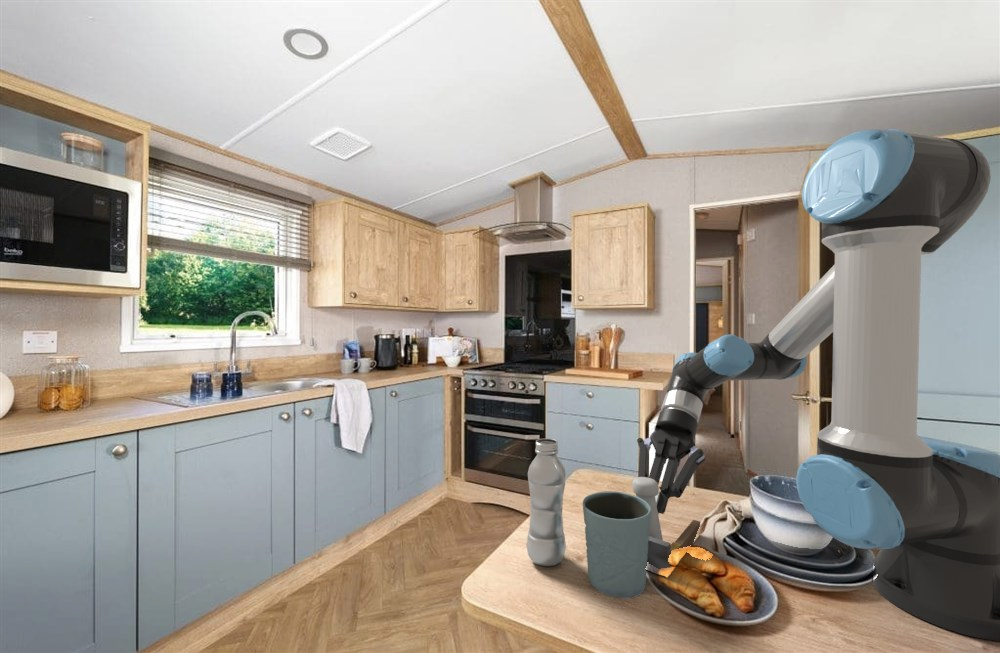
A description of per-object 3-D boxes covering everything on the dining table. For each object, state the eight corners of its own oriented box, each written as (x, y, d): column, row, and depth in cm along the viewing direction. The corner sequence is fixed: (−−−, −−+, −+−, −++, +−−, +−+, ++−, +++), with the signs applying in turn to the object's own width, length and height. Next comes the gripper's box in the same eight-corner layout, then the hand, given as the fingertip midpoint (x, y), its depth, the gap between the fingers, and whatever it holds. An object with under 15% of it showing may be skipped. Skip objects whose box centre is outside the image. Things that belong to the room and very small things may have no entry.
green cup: (650, 570, 68) (651, 495, 68) (650, 610, 58) (651, 524, 58) (587, 557, 71) (587, 487, 71) (577, 594, 62) (577, 512, 61)
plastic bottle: (518, 560, 70) (518, 441, 70) (545, 545, 75) (545, 434, 75) (547, 577, 66) (547, 449, 65) (574, 560, 70) (574, 441, 70)
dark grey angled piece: (700, 534, 79) (700, 508, 79) (667, 578, 65) (667, 546, 65) (640, 516, 86) (640, 492, 86) (600, 552, 73) (600, 523, 73)
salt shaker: (656, 546, 75) (657, 473, 75) (668, 564, 69) (669, 486, 69) (623, 545, 75) (623, 473, 75) (632, 563, 69) (633, 485, 69)
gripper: (716, 433, 85) (690, 549, 72) (652, 423, 93) (619, 525, 81) (709, 411, 81) (681, 530, 68) (643, 402, 89) (607, 507, 77)
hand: (647, 527), depth 74 cm, fingers closed
